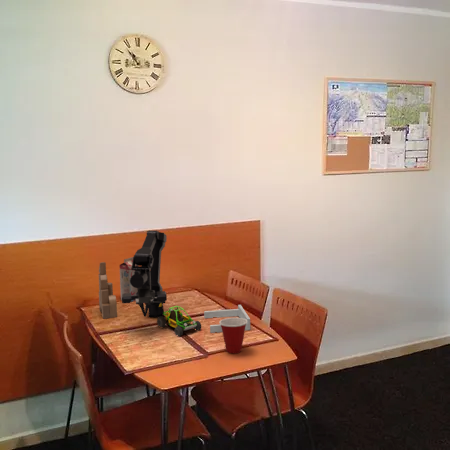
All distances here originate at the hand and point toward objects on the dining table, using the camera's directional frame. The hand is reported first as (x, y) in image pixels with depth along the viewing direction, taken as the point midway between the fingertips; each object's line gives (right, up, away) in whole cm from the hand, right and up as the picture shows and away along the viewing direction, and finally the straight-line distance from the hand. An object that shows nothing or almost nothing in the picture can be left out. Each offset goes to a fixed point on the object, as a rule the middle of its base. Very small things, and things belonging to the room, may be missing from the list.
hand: (145, 316), depth 207 cm
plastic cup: (+38, -9, -22) cm, 44 cm away
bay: (+34, -5, +7) cm, 35 cm away
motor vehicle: (+14, -6, +2) cm, 16 cm away
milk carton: (-15, 0, +42) cm, 45 cm away
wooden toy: (-21, -3, +22) cm, 31 cm away
